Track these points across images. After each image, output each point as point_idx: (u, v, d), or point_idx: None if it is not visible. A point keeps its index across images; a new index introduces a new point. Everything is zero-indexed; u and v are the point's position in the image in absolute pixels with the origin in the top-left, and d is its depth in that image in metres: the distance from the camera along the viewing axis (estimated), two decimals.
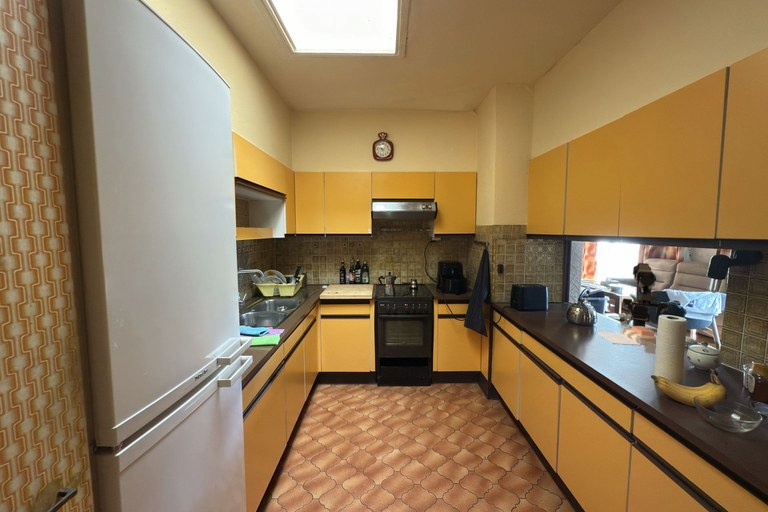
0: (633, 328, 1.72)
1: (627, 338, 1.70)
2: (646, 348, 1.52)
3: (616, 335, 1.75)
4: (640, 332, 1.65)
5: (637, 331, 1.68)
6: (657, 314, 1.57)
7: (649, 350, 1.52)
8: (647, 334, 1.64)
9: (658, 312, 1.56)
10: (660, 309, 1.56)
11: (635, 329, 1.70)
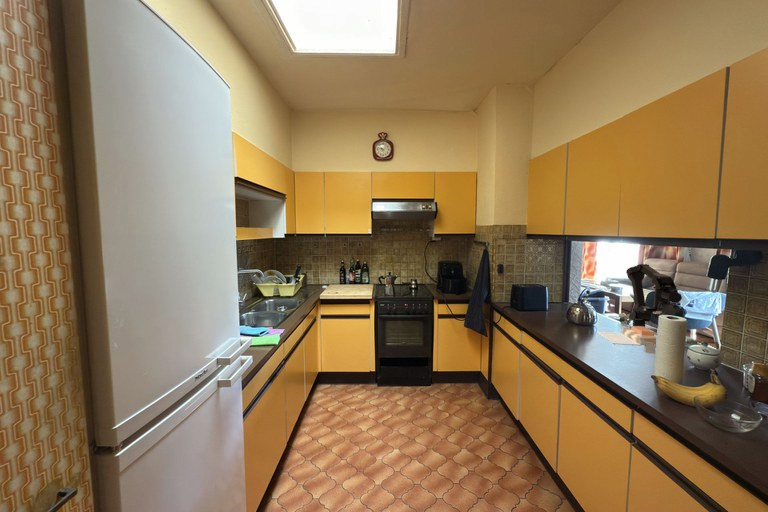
0: (633, 328, 1.72)
1: (627, 338, 1.70)
2: (646, 348, 1.52)
3: (616, 335, 1.75)
4: (640, 332, 1.65)
5: (637, 331, 1.68)
6: None
7: (649, 350, 1.52)
8: (647, 334, 1.64)
9: None
10: None
11: (635, 329, 1.70)
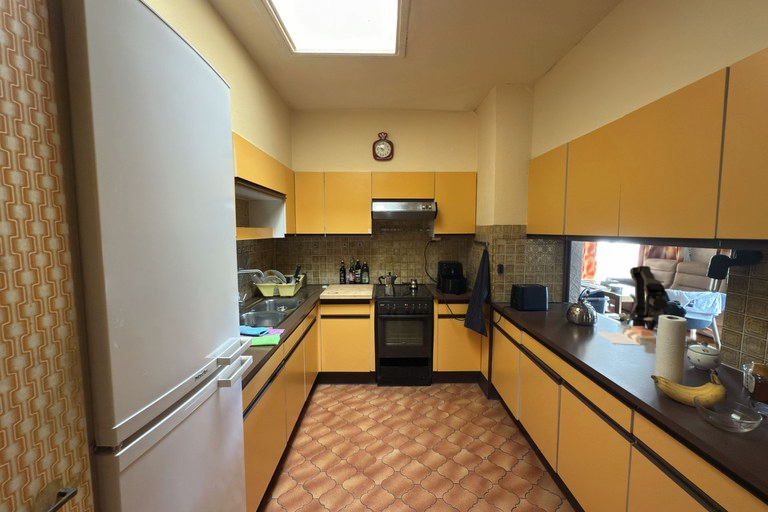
0: (633, 328, 1.72)
1: (627, 338, 1.70)
2: (646, 348, 1.52)
3: (616, 335, 1.75)
4: (640, 332, 1.65)
5: (637, 331, 1.68)
6: (653, 326, 1.66)
7: (649, 350, 1.52)
8: (647, 334, 1.64)
9: (655, 324, 1.66)
10: (657, 322, 1.64)
11: (635, 329, 1.70)
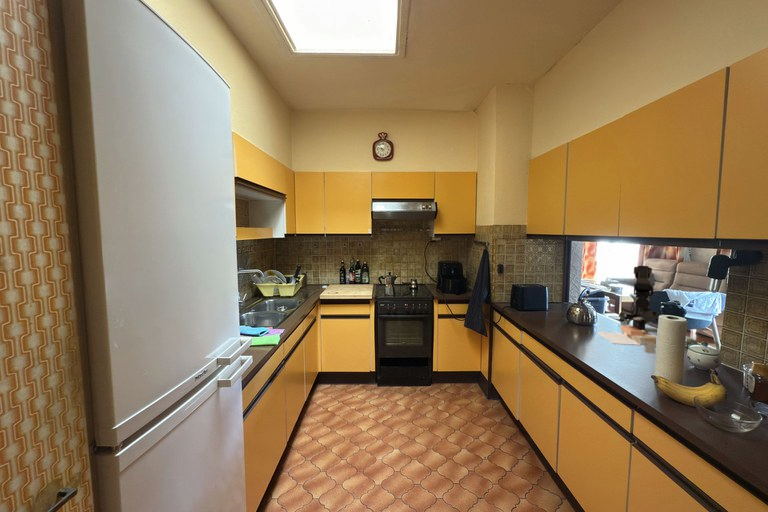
0: (622, 328, 1.72)
1: (627, 338, 1.70)
2: (646, 348, 1.52)
3: (616, 335, 1.75)
4: (629, 332, 1.66)
5: (626, 331, 1.69)
6: (643, 325, 1.67)
7: (649, 350, 1.52)
8: (636, 333, 1.65)
9: (644, 324, 1.67)
10: (646, 322, 1.65)
11: (624, 329, 1.71)
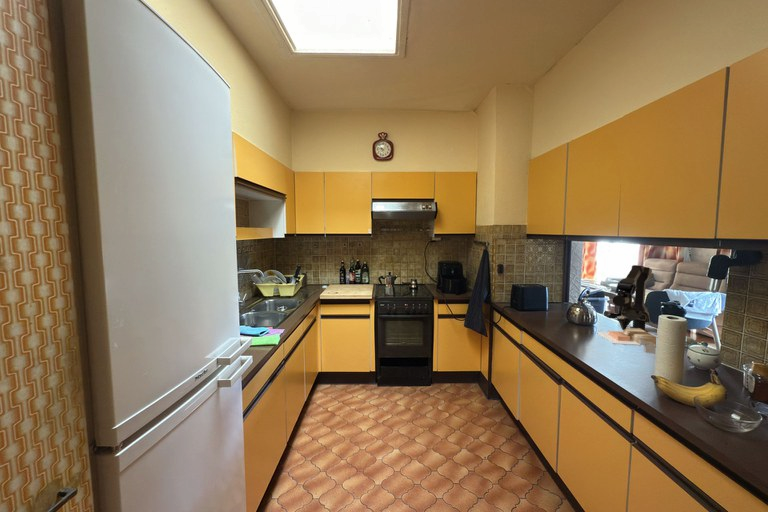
0: None
1: None
2: (646, 348, 1.52)
3: None
4: None
5: None
6: (626, 324, 1.68)
7: (649, 350, 1.52)
8: (624, 338, 1.66)
9: (627, 323, 1.68)
10: (630, 320, 1.67)
11: None
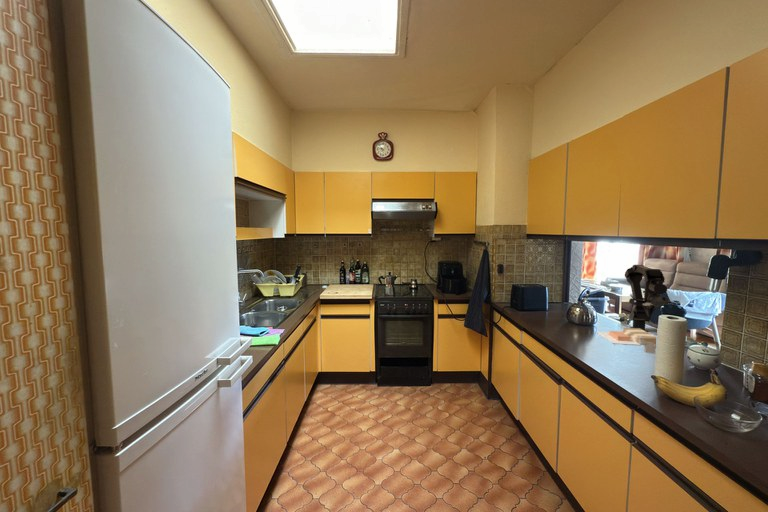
0: None
1: None
2: (646, 348, 1.52)
3: None
4: None
5: None
6: (652, 311, 1.71)
7: (649, 350, 1.52)
8: (624, 338, 1.66)
9: (653, 309, 1.70)
10: (656, 307, 1.69)
11: None
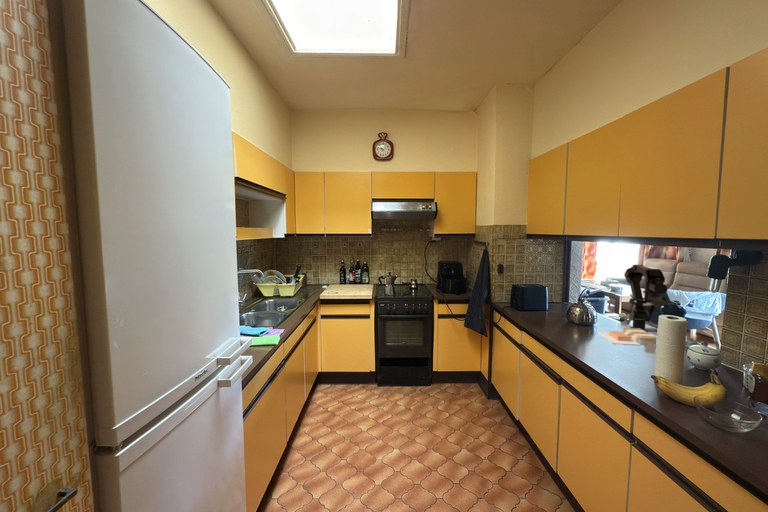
0: None
1: None
2: (646, 348, 1.52)
3: None
4: None
5: None
6: (652, 311, 1.71)
7: (649, 350, 1.52)
8: (624, 338, 1.66)
9: (653, 309, 1.70)
10: (656, 307, 1.69)
11: None
